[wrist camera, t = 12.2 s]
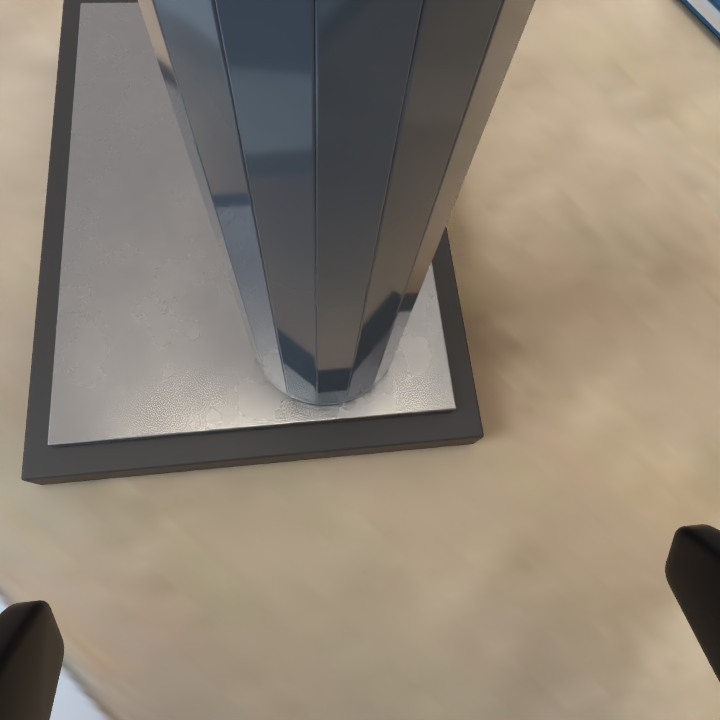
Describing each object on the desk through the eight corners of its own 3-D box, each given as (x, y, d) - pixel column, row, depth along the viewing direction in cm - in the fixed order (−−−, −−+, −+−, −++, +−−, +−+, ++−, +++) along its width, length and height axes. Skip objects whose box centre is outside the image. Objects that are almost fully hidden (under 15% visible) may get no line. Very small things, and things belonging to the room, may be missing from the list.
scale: (474, 444, 21) (488, 434, 19) (39, 485, 20) (12, 478, 18) (400, 20, 28) (406, -16, 26) (75, 24, 27) (58, -14, 25)
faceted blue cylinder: (403, 398, 20) (947, -548, 3) (256, 411, 19) (-222, -676, 2) (385, 269, 21) (650, -824, 4) (249, 278, 21) (-53, -934, 4)
